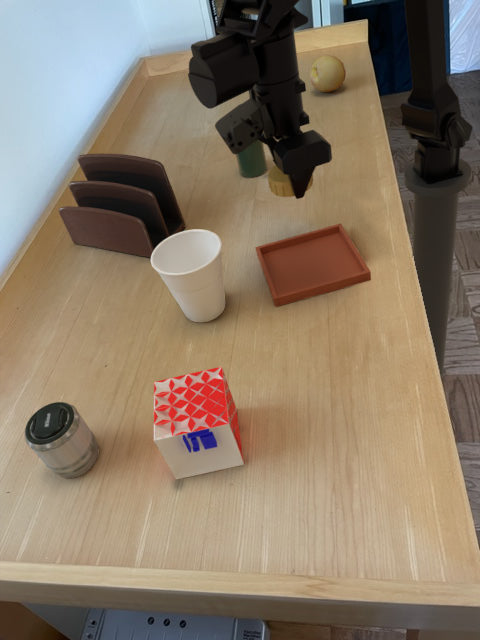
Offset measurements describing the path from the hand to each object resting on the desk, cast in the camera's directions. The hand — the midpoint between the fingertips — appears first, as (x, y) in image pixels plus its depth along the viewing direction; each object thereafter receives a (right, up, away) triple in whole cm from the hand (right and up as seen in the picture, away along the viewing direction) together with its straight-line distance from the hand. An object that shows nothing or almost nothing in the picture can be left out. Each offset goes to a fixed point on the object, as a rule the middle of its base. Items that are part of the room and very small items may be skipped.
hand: (292, 187), depth 76 cm
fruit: (+14, +35, +50) cm, 63 cm away
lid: (0, +2, -2) cm, 2 cm away
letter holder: (-28, -3, +23) cm, 36 cm away
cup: (-12, -17, +4) cm, 22 cm away
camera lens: (-27, -36, -11) cm, 46 cm away
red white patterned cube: (-11, -33, -13) cm, 38 cm away
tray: (+3, -11, +6) cm, 13 cm away
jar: (-5, +11, +31) cm, 33 cm away
